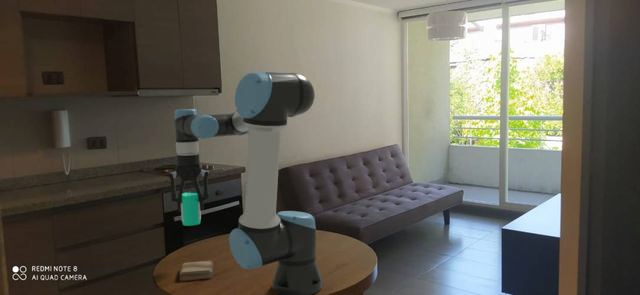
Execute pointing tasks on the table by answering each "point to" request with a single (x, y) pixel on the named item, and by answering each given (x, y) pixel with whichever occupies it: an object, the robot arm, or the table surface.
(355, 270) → the table surface
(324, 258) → the table surface
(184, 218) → the candle
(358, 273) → the table surface
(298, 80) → the robot arm
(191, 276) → the stand
